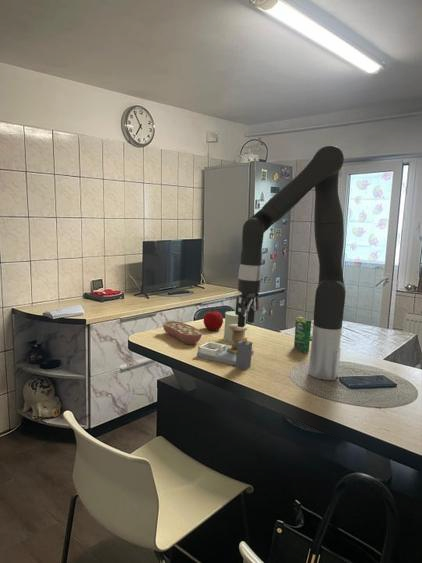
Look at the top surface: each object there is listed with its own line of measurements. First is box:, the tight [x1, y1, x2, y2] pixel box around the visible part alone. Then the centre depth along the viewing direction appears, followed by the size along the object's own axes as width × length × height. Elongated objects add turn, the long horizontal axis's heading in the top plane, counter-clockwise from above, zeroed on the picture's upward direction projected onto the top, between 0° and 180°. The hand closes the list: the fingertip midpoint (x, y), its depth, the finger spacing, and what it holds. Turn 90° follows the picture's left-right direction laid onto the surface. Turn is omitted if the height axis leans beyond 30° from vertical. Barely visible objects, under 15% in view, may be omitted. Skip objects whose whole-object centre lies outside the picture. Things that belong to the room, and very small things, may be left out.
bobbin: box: [227, 324, 248, 354], centre depth 156 cm, size 7×7×10 cm
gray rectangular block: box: [235, 336, 253, 371], centre depth 143 cm, size 4×4×11 cm
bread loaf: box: [162, 320, 203, 345], centre depth 174 cm, size 23×10×5 cm, turn 35°
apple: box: [203, 309, 224, 331], centre depth 191 cm, size 9×9×10 cm
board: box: [196, 341, 254, 366], centre depth 155 cm, size 16×16×4 cm
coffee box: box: [293, 316, 312, 354], centre depth 167 cm, size 8×3×13 cm, turn 17°
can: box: [222, 310, 248, 344], centre depth 176 cm, size 9×9×12 cm
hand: (245, 324), depth 142 cm, fingers open, 8 cm apart
